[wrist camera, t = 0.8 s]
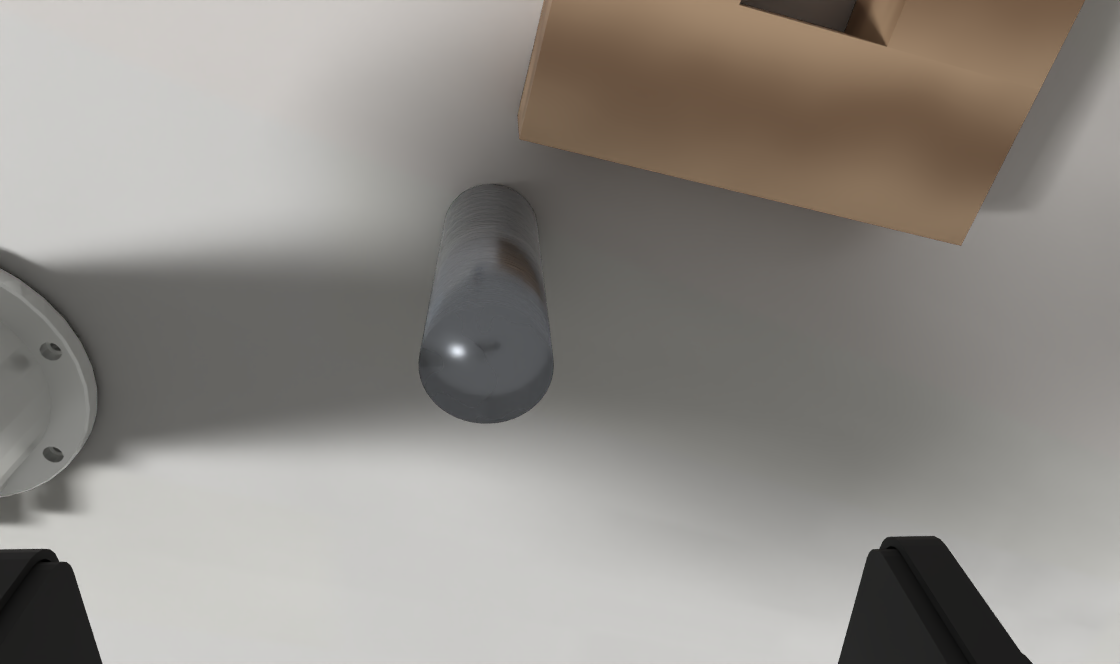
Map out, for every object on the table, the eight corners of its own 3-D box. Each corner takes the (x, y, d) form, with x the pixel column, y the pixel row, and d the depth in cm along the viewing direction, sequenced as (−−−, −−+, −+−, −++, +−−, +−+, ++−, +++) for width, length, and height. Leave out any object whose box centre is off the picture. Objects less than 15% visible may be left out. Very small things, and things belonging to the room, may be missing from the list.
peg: (525, 280, 36) (536, 433, 25) (436, 261, 35) (408, 410, 25) (547, 196, 34) (568, 321, 24) (454, 174, 34) (432, 293, 23)
